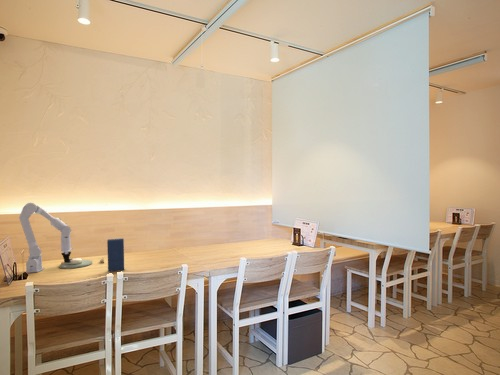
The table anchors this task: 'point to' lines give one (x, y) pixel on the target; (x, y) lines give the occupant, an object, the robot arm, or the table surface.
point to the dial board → (72, 266)
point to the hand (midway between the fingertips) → (66, 262)
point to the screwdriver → (102, 260)
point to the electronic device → (115, 254)
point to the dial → (75, 261)
